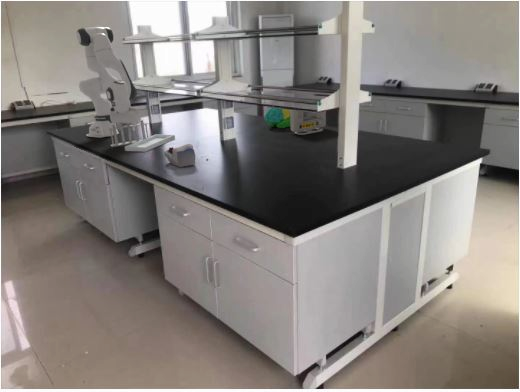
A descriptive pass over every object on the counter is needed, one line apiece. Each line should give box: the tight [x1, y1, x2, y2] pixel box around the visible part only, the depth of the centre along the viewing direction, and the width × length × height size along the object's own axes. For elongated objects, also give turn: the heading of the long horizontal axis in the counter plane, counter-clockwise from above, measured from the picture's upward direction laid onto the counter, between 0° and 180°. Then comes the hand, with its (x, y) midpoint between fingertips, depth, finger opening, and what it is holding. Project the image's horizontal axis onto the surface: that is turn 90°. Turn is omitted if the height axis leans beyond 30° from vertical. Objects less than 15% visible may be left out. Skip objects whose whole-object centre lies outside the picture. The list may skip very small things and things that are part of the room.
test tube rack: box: [107, 119, 150, 148], centre depth 268 cm, size 25×4×13 cm, turn 122°
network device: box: [290, 110, 327, 136], centre depth 270 cm, size 26×9×20 cm, turn 122°
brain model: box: [264, 107, 291, 129], centre depth 291 cm, size 24×19×15 cm
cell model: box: [164, 143, 196, 168], centre depth 216 cm, size 13×11×20 cm
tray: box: [124, 133, 176, 153], centre depth 263 cm, size 14×33×2 cm, turn 160°
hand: (127, 130), depth 267 cm, fingers open, 8 cm apart
